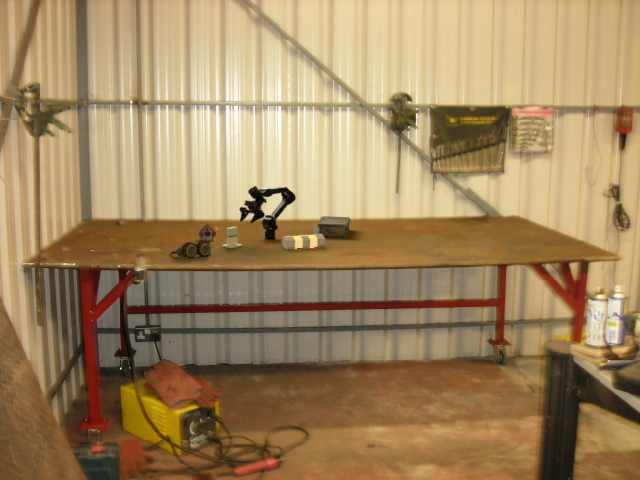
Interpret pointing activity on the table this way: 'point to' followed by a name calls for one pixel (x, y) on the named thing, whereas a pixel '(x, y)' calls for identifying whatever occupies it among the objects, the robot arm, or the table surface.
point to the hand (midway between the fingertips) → (245, 222)
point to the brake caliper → (207, 233)
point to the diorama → (304, 241)
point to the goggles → (193, 249)
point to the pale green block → (231, 231)
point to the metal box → (334, 226)
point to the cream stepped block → (232, 242)
